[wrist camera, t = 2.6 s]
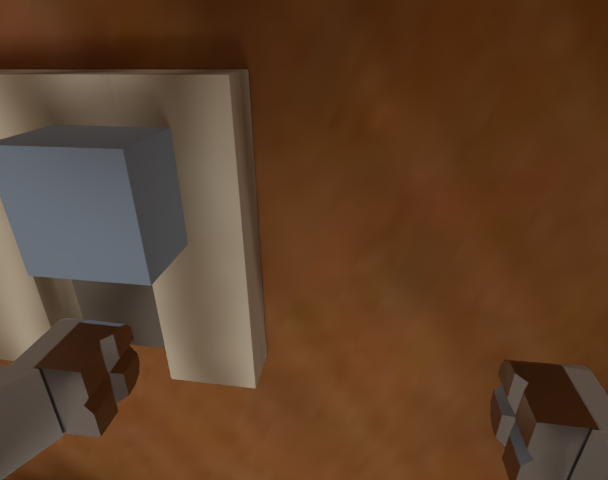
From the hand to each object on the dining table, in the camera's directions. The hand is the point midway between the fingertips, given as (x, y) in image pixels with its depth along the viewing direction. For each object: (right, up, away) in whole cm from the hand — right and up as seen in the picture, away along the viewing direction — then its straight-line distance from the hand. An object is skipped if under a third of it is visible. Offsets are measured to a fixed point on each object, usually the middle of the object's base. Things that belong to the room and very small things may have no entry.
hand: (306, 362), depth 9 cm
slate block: (-9, +5, +12) cm, 16 cm away
